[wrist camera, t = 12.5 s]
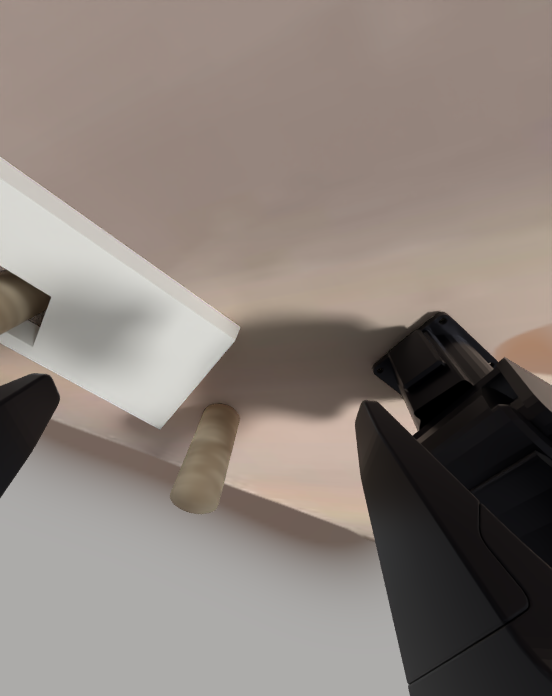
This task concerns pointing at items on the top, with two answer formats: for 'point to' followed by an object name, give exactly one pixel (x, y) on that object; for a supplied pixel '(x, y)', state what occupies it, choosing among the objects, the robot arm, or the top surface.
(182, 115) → the top surface
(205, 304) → the hole plate
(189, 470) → the short pin
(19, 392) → the robot arm
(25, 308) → the long pin
